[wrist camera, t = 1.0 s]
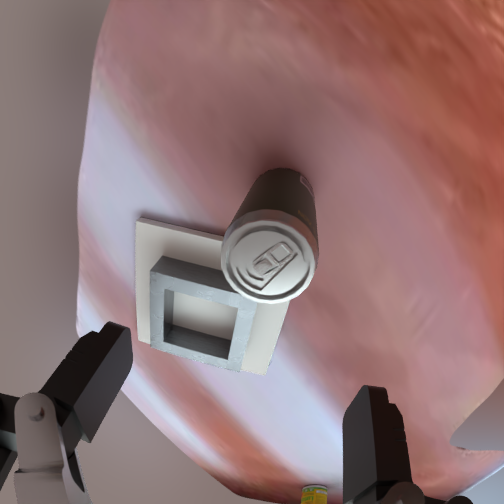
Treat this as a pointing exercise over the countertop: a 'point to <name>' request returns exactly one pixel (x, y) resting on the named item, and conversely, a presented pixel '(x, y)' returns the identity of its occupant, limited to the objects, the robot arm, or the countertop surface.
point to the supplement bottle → (314, 494)
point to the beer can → (272, 239)
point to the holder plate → (196, 309)
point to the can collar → (205, 287)
